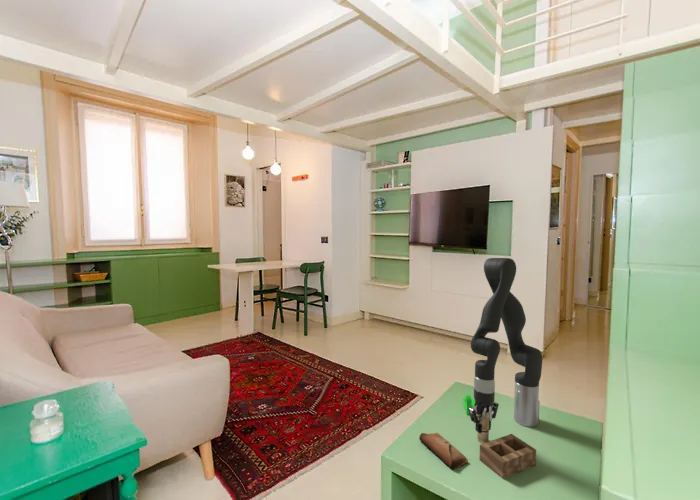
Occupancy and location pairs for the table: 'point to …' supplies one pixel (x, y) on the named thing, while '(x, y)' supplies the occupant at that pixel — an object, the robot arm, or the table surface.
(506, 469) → the brown wooden box
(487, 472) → the table surface
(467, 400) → the mechanical part
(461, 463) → the sunglasses case
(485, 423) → the peg
